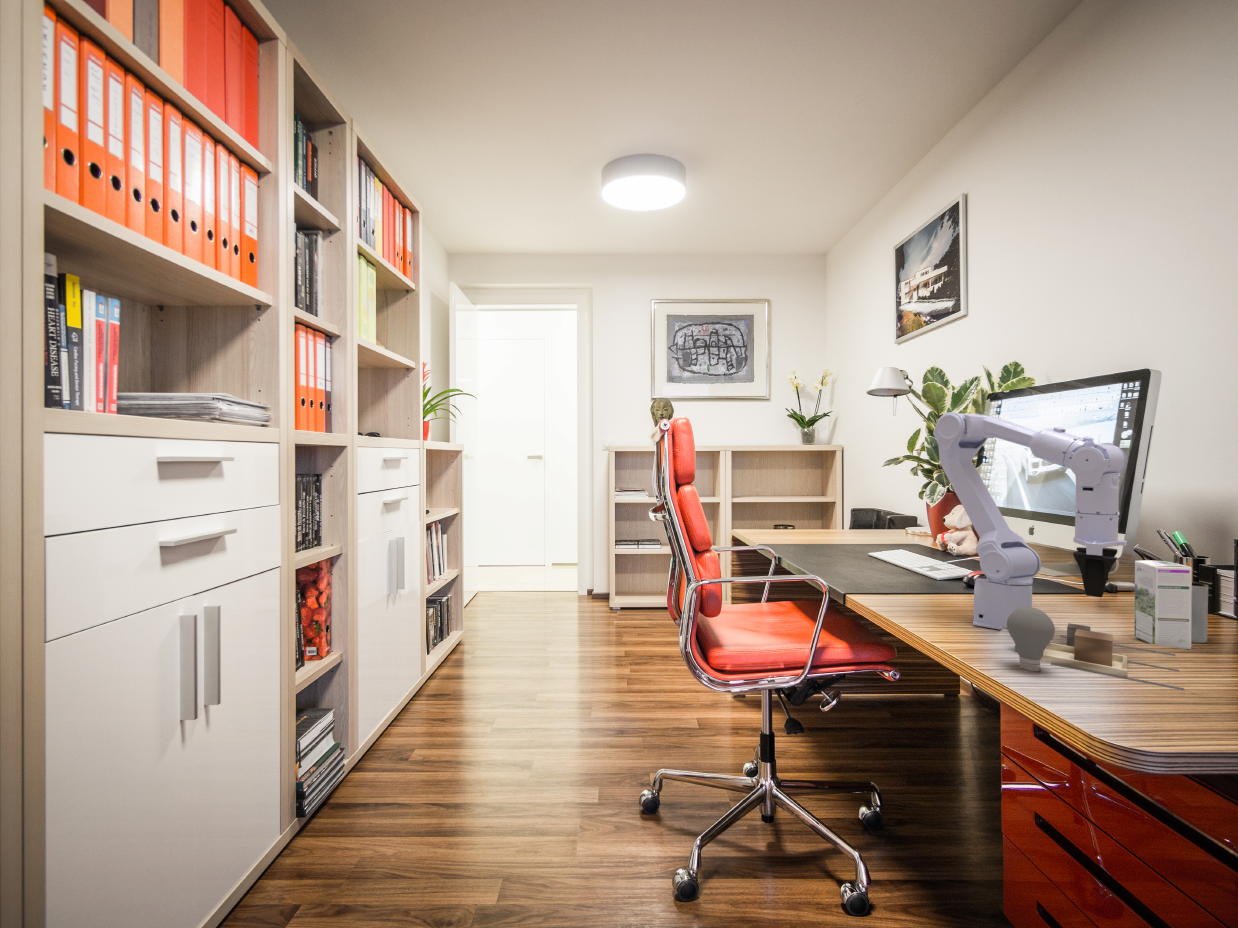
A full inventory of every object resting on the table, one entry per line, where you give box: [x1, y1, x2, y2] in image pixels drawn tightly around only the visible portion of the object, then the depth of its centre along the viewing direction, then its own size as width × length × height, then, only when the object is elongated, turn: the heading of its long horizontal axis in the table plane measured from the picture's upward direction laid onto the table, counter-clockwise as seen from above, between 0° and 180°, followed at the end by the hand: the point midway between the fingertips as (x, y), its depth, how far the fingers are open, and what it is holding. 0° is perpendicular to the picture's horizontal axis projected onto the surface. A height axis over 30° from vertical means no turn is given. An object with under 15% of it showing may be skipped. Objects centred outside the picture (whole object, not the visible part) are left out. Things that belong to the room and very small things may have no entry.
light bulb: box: [1006, 606, 1056, 672], centre depth 89 cm, size 6×6×10 cm
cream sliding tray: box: [1014, 642, 1128, 677], centre depth 93 cm, size 14×8×6 cm, turn 49°
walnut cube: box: [1074, 629, 1114, 667], centre depth 91 cm, size 4×4×4 cm
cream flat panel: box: [1066, 622, 1091, 647], centre depth 96 cm, size 14×8×4 cm, turn 49°
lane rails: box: [1050, 635, 1185, 691], centre depth 93 cm, size 15×20×1 cm
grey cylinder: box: [1191, 581, 1209, 644], centre depth 107 cm, size 4×4×10 cm
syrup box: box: [1133, 559, 1193, 650], centre depth 104 cm, size 6×6×14 cm
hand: (1094, 592), depth 100 cm, fingers open, 7 cm apart
